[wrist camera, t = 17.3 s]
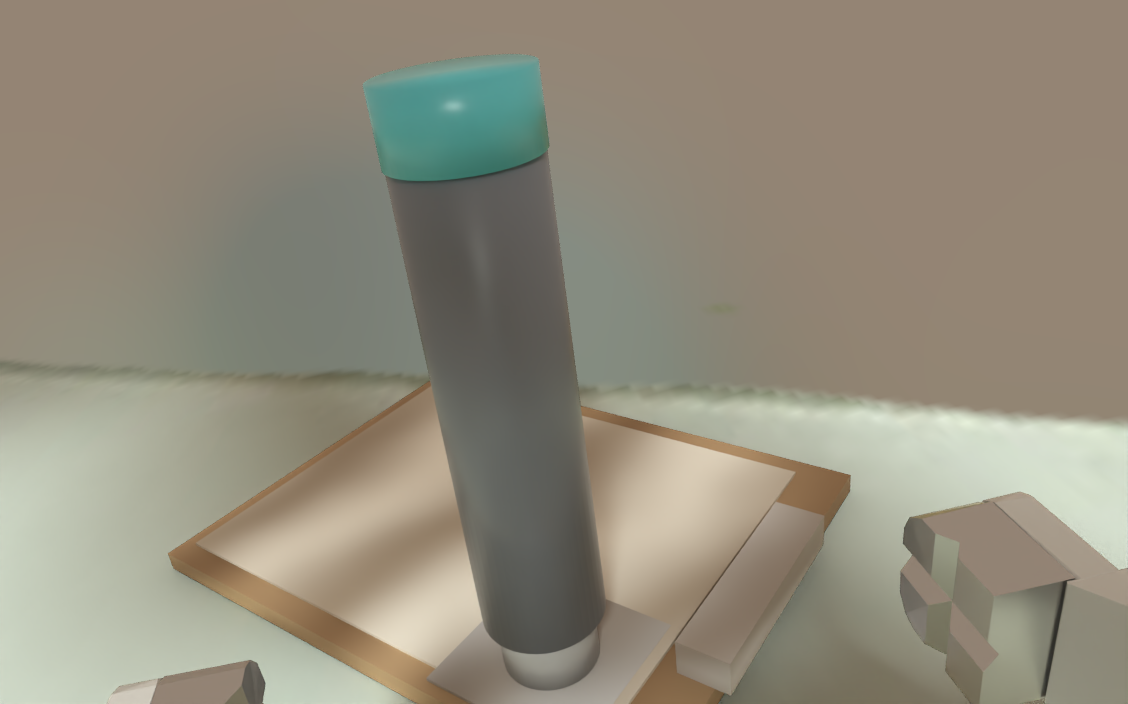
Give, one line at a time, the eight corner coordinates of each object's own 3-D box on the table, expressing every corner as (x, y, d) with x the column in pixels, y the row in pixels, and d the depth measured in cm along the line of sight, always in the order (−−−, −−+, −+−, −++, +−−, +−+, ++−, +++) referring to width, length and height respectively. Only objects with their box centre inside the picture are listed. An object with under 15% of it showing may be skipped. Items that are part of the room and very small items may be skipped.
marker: (464, 671, 21) (325, 90, 15) (538, 592, 23) (443, 55, 17) (567, 722, 20) (460, 90, 13) (637, 631, 22) (572, 52, 15)
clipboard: (173, 568, 27) (157, 527, 26) (447, 383, 36) (440, 349, 36) (657, 837, 18) (653, 785, 17) (862, 494, 27) (865, 451, 26)
